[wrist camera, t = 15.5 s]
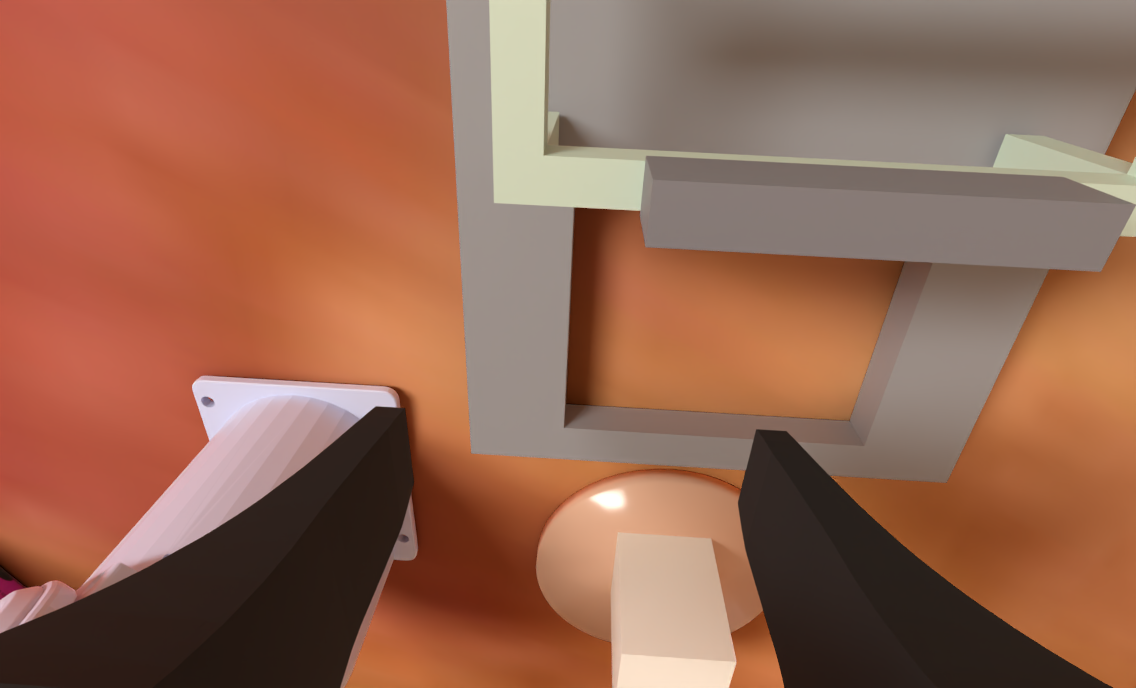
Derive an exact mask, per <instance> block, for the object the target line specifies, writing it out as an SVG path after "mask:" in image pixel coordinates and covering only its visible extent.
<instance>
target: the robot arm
mask: <svg viewBox="0 0 1136 688" xmlns="http://www.w3.org/2000/svg"><path fill="white" fill-rule="evenodd" d="M192 390H193V393H194V396H195V399H196V402H197V405H198V408H199V411H200V414H201V417H202V420H203V423H204V426H205V429H206V432H207V435H208V438H209V443H208V444H207V445H206V446H205V447H204V448H203V449H202V450H201V452H200V453H199V454H198V455H197V456H196V457H195V458H194V459H193V461H192V462H191V463H190V464H189V465H188V466H187V467H186V468H185V470H184V471H183V472H182V473H181V474H180V475H179V476H178V478H177V479H176V480H175V481H174V482H173V483H172V484H171V485H170V487H169V488H168V489H167V490H166V491H165V492H164V493H163V494H162V496H161V497H160V498H159V499H158V500H157V501H156V502H155V504H154V505H153V506H152V507H151V508H150V509H149V510H148V511H147V513H146V514H145V515H144V516H143V517H142V518H141V519H140V520H139V522H138V523H137V524H136V525H135V526H134V527H133V528H132V530H131V531H130V532H129V533H128V534H127V535H126V536H125V537H124V539H123V540H122V541H121V542H120V543H119V544H118V545H117V546H116V548H115V549H114V550H113V551H112V552H111V553H110V554H109V555H108V557H107V558H106V559H105V560H104V561H103V562H102V563H101V565H100V566H99V567H98V568H97V569H96V570H95V571H94V572H93V574H92V575H91V576H90V577H89V578H88V579H87V580H86V581H85V583H84V584H83V585H82V586H81V587H80V588H78V589H77V590H76V591H75V590H74V589H73V588H71V587H69V586H68V585H66V584H65V583H63V582H61V581H57V580H54V581H50V582H47V583H45V584H44V585H42V586H41V587H40V586H35V587H30V588H25V589H20V590H16V591H13V592H11V593H10V594H8V595H7V596H5V597H4V598H2V599H1V600H0V688H344V687H345V686H346V684H347V682H348V680H349V678H350V676H351V674H352V671H353V669H354V666H355V663H356V661H357V658H358V655H359V653H360V650H361V647H362V644H363V642H364V639H365V636H366V634H367V631H368V628H369V625H370V623H371V620H372V617H373V615H374V612H375V609H376V606H377V604H378V601H379V598H380V596H381V593H382V590H383V587H384V585H385V582H386V579H387V577H388V574H389V571H390V568H391V566H392V563H393V560H404V561H408V560H412V559H414V558H415V557H416V555H417V552H418V543H417V535H416V527H415V519H414V511H413V503H412V495H411V492H412V489H413V485H414V478H413V470H412V461H411V453H410V445H409V437H408V428H407V420H406V412H405V408H400V401H399V396H398V394H397V392H396V391H395V390H393V389H392V388H390V387H385V386H369V385H352V384H336V383H319V382H302V381H285V380H269V379H252V378H235V377H218V376H201V377H200V378H198V379H197V380H196V381H195V382H194V383H193V385H192ZM208 397H210V398H211V399H213V401H211V400H210V399H209V398H208ZM738 508H739V515H740V522H741V528H742V534H743V540H744V545H745V550H746V554H747V557H748V561H749V564H750V568H751V571H752V575H753V578H754V581H755V585H756V588H757V591H758V595H759V598H760V601H761V605H762V608H763V611H764V615H765V618H766V621H767V625H768V628H769V631H770V635H771V638H772V641H773V645H774V648H775V651H776V655H777V659H778V662H779V666H780V670H781V674H782V678H783V683H784V688H1113V687H1111V686H1109V685H1107V684H1105V683H1103V682H1102V681H1100V680H1098V679H1096V678H1095V677H1093V676H1091V675H1089V674H1088V673H1086V672H1084V671H1083V670H1081V669H1079V668H1078V667H1076V666H1074V665H1073V664H1071V663H1069V662H1068V661H1066V660H1064V659H1063V658H1061V657H1059V656H1058V655H1056V654H1054V653H1053V652H1051V651H1049V650H1048V649H1046V648H1045V647H1043V646H1041V645H1040V644H1038V643H1037V642H1035V641H1034V640H1032V639H1030V638H1029V637H1027V636H1026V635H1024V634H1023V633H1021V632H1019V631H1018V630H1016V629H1015V628H1013V627H1012V626H1010V625H1009V624H1007V623H1006V622H1005V621H1003V620H1002V619H1000V618H999V617H997V616H996V615H994V614H993V613H991V612H990V611H989V610H987V609H986V608H984V607H983V606H981V605H980V604H978V603H977V602H975V601H974V600H973V599H971V598H970V597H968V596H967V595H966V594H964V593H963V592H962V591H960V590H959V589H957V588H956V587H955V586H953V585H952V584H951V583H950V582H948V581H947V580H946V579H944V578H943V577H942V576H941V575H939V574H938V573H937V572H935V571H934V570H933V569H932V568H930V567H929V566H928V565H927V564H925V563H924V562H923V561H921V560H920V559H919V558H918V557H916V556H915V555H914V554H913V553H912V552H910V551H909V550H908V549H907V548H906V547H904V546H903V545H902V544H901V543H900V542H899V541H898V540H897V539H895V538H894V537H893V536H892V535H891V534H890V533H889V532H888V531H886V530H885V529H884V528H883V527H882V526H881V525H880V524H879V523H877V522H876V521H875V520H874V519H873V518H872V517H871V516H870V515H869V514H868V513H867V512H866V511H865V510H864V509H862V508H861V507H860V506H859V505H858V504H857V503H856V502H855V501H854V500H853V499H852V498H851V497H850V496H849V495H848V494H847V493H846V492H845V491H844V490H843V489H842V488H841V487H840V486H839V485H838V484H837V483H836V482H835V481H834V480H833V479H832V478H831V477H830V476H829V475H828V474H827V473H826V472H825V470H824V469H823V468H822V467H821V466H820V465H819V464H818V463H817V462H816V461H815V460H814V459H813V458H812V457H811V456H810V455H809V454H808V453H807V452H806V451H805V450H804V448H803V447H802V446H801V445H800V444H799V443H798V442H797V441H796V440H795V439H794V438H793V437H792V436H791V435H790V434H789V433H788V432H787V431H778V430H762V429H756V432H755V436H754V440H753V444H752V448H751V452H750V456H749V460H748V464H747V468H746V472H745V476H744V480H743V484H742V488H741V492H740V496H739V500H738ZM402 534H403V535H402ZM405 535H406V536H405Z"/></svg>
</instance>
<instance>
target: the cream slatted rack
mask: <svg viewBox="0 0 1136 688" xmlns="http://www.w3.org/2000/svg"><path fill="white" fill-rule="evenodd" d="M489 16H490V58H491V100H492V142H493V183H494V203H503V204H522V205H541V206H560V207H579V208H598V209H617V210H635V211H640V219H641V225H642V230H643V236H644V241H645V247H652V248H671V249H689V250H708V251H726V252H745V253H763V254H782V255H800V256H819V257H837V258H856V259H874V260H893V261H911V262H930V263H948V264H967V265H985V266H1004V267H1022V268H1041V269H1059V270H1078V271H1096V272H1101V271H1102V269H1103V267H1104V265H1105V263H1106V261H1107V259H1108V257H1109V255H1110V254H1111V252H1112V250H1113V248H1114V246H1115V244H1116V242H1117V240H1118V238H1119V237H1120V236H1128V237H1136V157H1135V159H1134V161H1133V163H1130V162H1127V161H1124V160H1120V159H1117V158H1114V157H1111V156H1107V155H1104V154H1101V153H1098V152H1094V151H1091V150H1088V149H1085V148H1081V147H1078V146H1075V145H1072V144H1068V143H1065V142H1062V141H1059V140H1055V139H1052V138H1049V137H1046V136H1036V135H1016V134H1006V135H1005V137H1004V140H1003V142H1002V145H1001V147H1000V150H999V152H998V155H997V157H996V160H995V163H994V165H993V167H975V166H955V165H935V164H915V163H896V162H876V161H856V160H836V159H817V158H797V157H777V156H757V155H737V154H718V153H698V152H678V151H658V150H639V149H619V148H599V147H579V146H560V145H558V144H559V112H550V111H548V93H549V46H550V0H489Z"/></svg>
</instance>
